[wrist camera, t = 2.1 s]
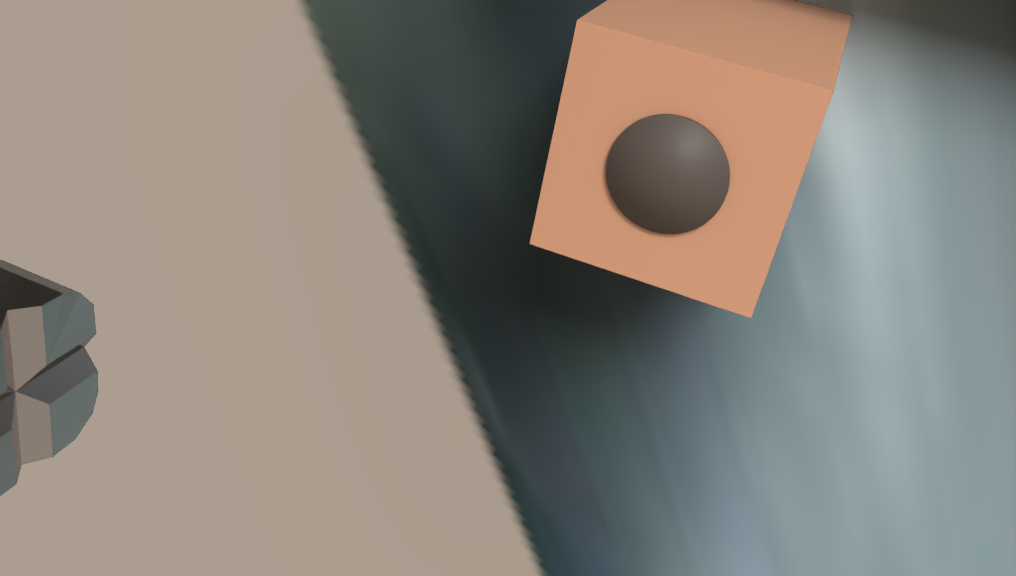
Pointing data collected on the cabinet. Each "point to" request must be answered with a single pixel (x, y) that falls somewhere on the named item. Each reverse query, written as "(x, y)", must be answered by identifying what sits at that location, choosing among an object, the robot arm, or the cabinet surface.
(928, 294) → the cabinet surface
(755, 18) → the terracotta block
